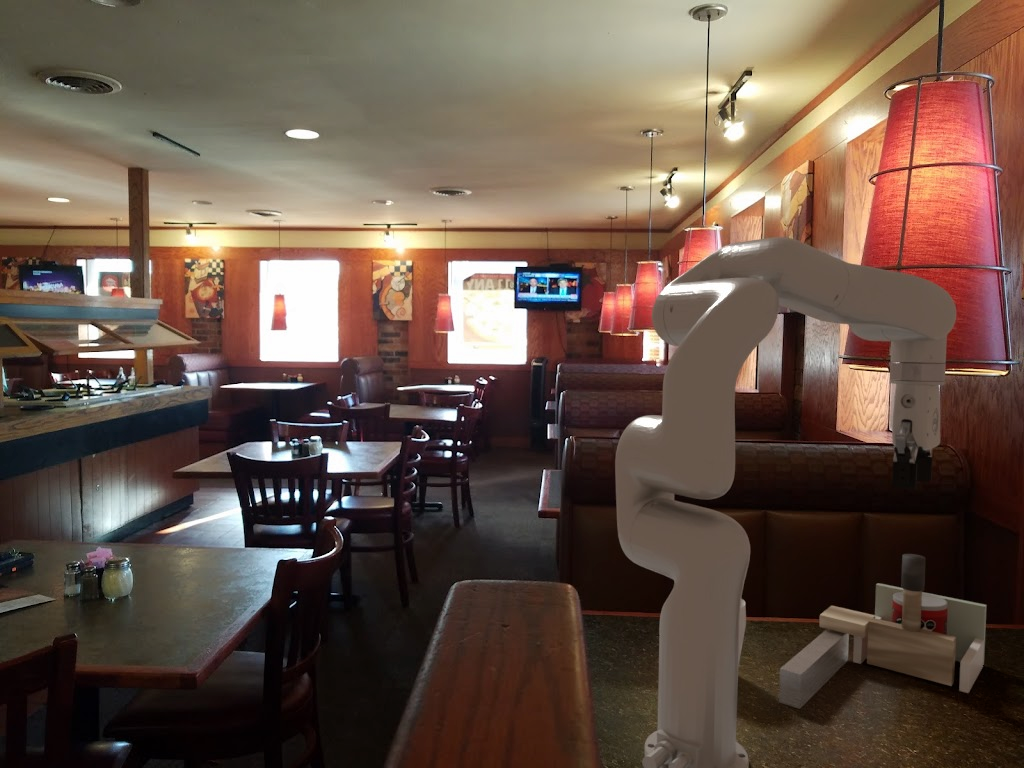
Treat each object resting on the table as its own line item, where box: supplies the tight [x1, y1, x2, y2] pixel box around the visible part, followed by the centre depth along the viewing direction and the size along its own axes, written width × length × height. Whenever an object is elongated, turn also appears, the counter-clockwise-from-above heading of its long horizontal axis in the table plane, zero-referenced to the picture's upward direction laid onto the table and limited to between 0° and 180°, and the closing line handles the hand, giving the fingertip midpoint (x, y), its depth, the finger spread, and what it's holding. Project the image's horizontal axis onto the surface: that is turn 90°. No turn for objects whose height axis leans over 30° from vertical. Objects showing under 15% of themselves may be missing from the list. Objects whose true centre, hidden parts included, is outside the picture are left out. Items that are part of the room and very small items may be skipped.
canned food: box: [892, 592, 948, 635], centre depth 121 cm, size 8×8×11 cm
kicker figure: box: [818, 553, 956, 687], centre depth 119 cm, size 6×19×18 cm, turn 49°
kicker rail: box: [778, 628, 850, 710], centre depth 115 cm, size 22×3×5 cm, turn 139°
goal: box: [852, 583, 988, 694], centre depth 122 cm, size 13×16×10 cm
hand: (912, 484), depth 116 cm, fingers open, 9 cm apart
